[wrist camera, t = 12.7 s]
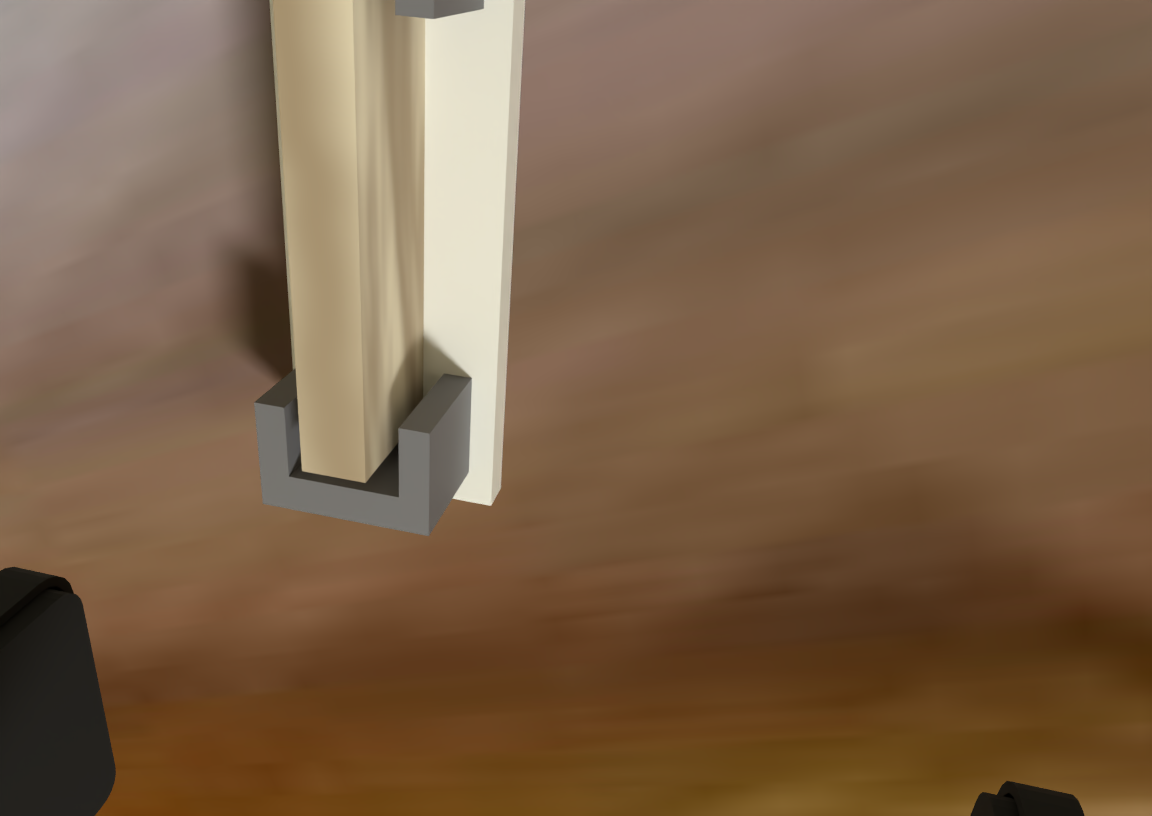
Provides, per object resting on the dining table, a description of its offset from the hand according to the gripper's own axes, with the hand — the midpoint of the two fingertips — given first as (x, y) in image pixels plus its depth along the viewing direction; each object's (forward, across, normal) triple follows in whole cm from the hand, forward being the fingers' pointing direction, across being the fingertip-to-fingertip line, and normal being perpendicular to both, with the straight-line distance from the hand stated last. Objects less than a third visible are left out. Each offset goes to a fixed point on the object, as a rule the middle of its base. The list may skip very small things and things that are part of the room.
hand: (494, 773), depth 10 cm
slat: (+27, +12, +2) cm, 29 cm away
